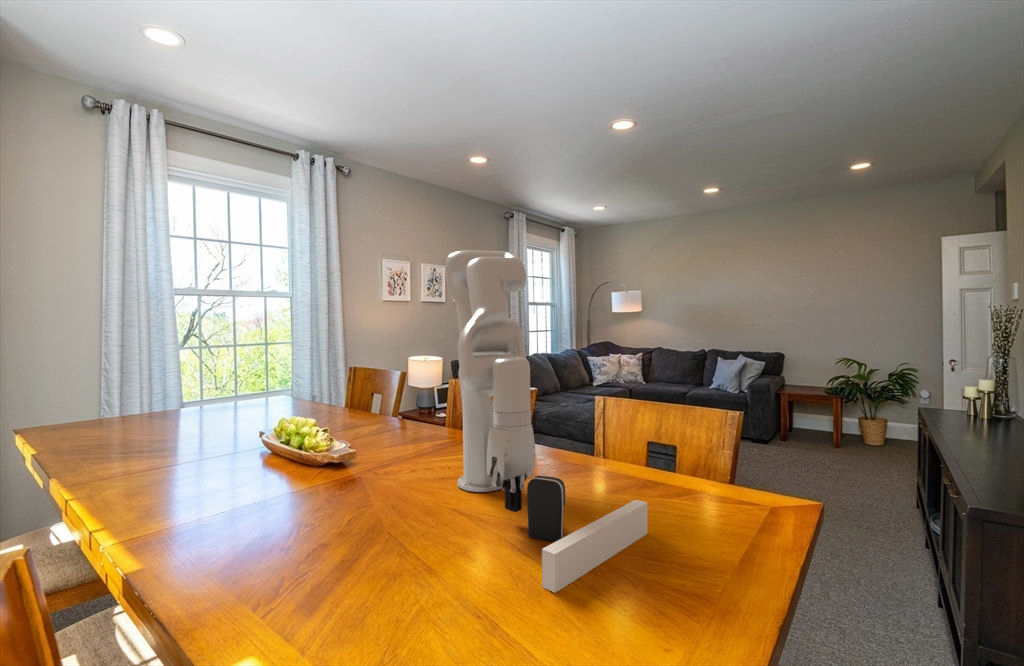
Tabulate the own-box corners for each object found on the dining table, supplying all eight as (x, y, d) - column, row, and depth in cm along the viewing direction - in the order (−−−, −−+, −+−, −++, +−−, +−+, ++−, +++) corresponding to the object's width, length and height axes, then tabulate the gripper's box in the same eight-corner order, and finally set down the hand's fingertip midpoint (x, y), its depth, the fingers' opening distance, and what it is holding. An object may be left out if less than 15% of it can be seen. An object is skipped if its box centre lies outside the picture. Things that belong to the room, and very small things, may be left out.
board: (635, 529, 97) (635, 499, 97) (647, 533, 96) (647, 502, 95) (542, 587, 77) (542, 548, 77) (554, 593, 75) (554, 554, 75)
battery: (567, 535, 95) (567, 476, 95) (561, 544, 92) (561, 482, 91) (533, 530, 98) (533, 472, 97) (526, 538, 94) (525, 478, 94)
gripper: (523, 411, 108) (524, 495, 109) (471, 422, 97) (473, 515, 98) (550, 415, 103) (551, 504, 103) (498, 427, 92) (500, 526, 93)
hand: (513, 509), depth 101 cm, fingers closed
